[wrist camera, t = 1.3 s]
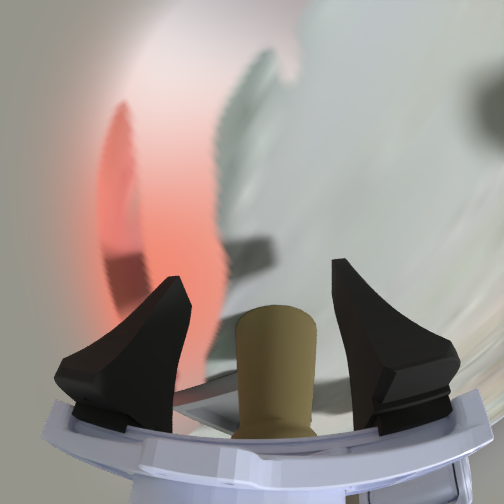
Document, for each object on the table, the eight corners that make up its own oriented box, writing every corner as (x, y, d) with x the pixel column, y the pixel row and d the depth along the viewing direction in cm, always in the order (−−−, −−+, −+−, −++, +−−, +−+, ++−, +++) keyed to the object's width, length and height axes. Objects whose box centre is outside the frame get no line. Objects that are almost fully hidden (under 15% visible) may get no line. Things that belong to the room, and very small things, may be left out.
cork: (254, 361, 22) (245, 486, 13) (220, 317, 19) (193, 470, 10) (324, 346, 20) (337, 480, 11) (303, 294, 18) (316, 468, 8)
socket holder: (310, 406, 27) (311, 421, 26) (238, 424, 32) (237, 437, 30) (247, 368, 23) (245, 387, 21) (173, 392, 27) (169, 407, 26)
